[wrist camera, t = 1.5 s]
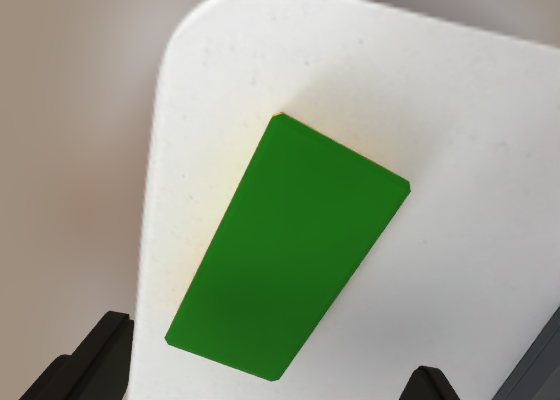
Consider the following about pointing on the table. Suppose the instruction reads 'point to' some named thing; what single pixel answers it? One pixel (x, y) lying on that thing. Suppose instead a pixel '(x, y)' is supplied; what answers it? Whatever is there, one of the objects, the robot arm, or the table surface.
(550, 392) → the tray
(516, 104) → the table surface
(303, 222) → the dish sponge
